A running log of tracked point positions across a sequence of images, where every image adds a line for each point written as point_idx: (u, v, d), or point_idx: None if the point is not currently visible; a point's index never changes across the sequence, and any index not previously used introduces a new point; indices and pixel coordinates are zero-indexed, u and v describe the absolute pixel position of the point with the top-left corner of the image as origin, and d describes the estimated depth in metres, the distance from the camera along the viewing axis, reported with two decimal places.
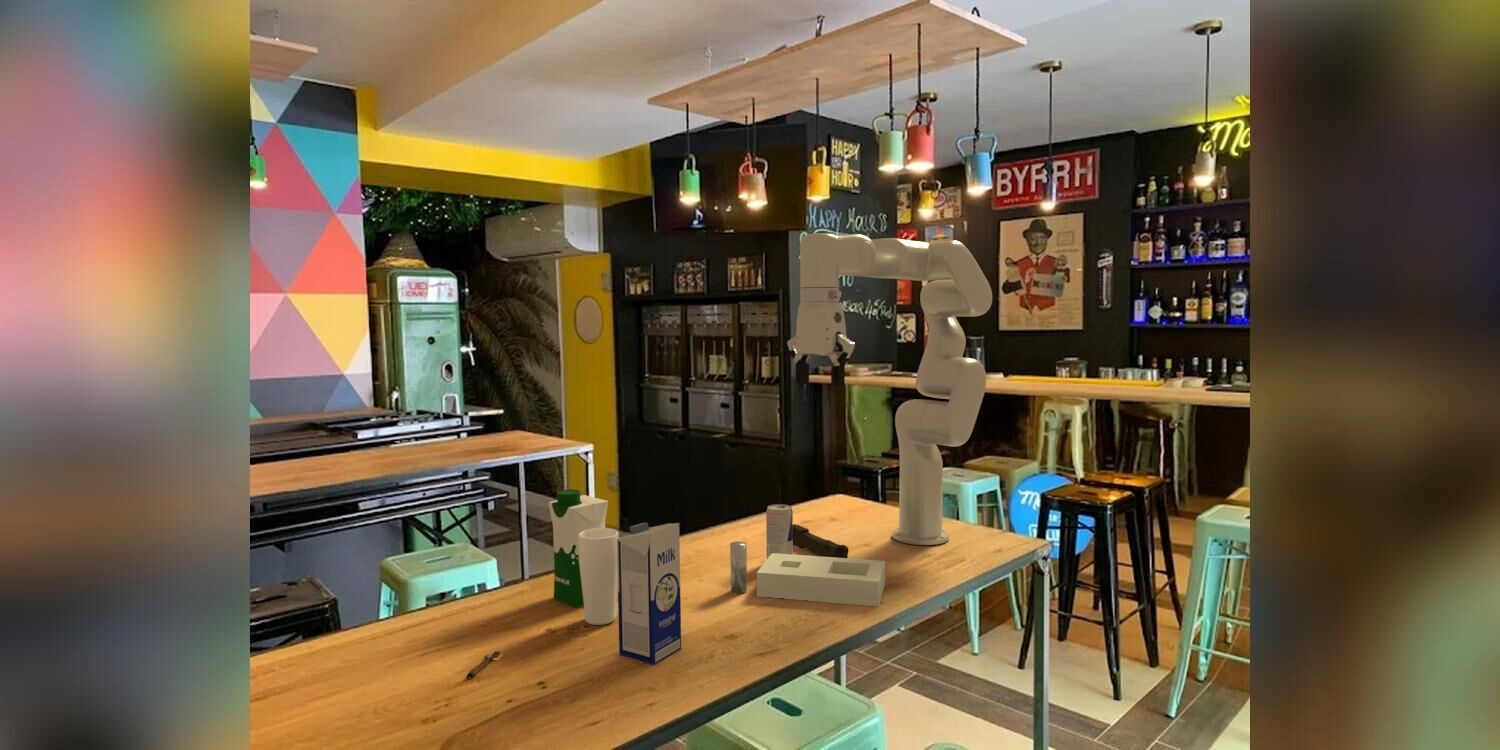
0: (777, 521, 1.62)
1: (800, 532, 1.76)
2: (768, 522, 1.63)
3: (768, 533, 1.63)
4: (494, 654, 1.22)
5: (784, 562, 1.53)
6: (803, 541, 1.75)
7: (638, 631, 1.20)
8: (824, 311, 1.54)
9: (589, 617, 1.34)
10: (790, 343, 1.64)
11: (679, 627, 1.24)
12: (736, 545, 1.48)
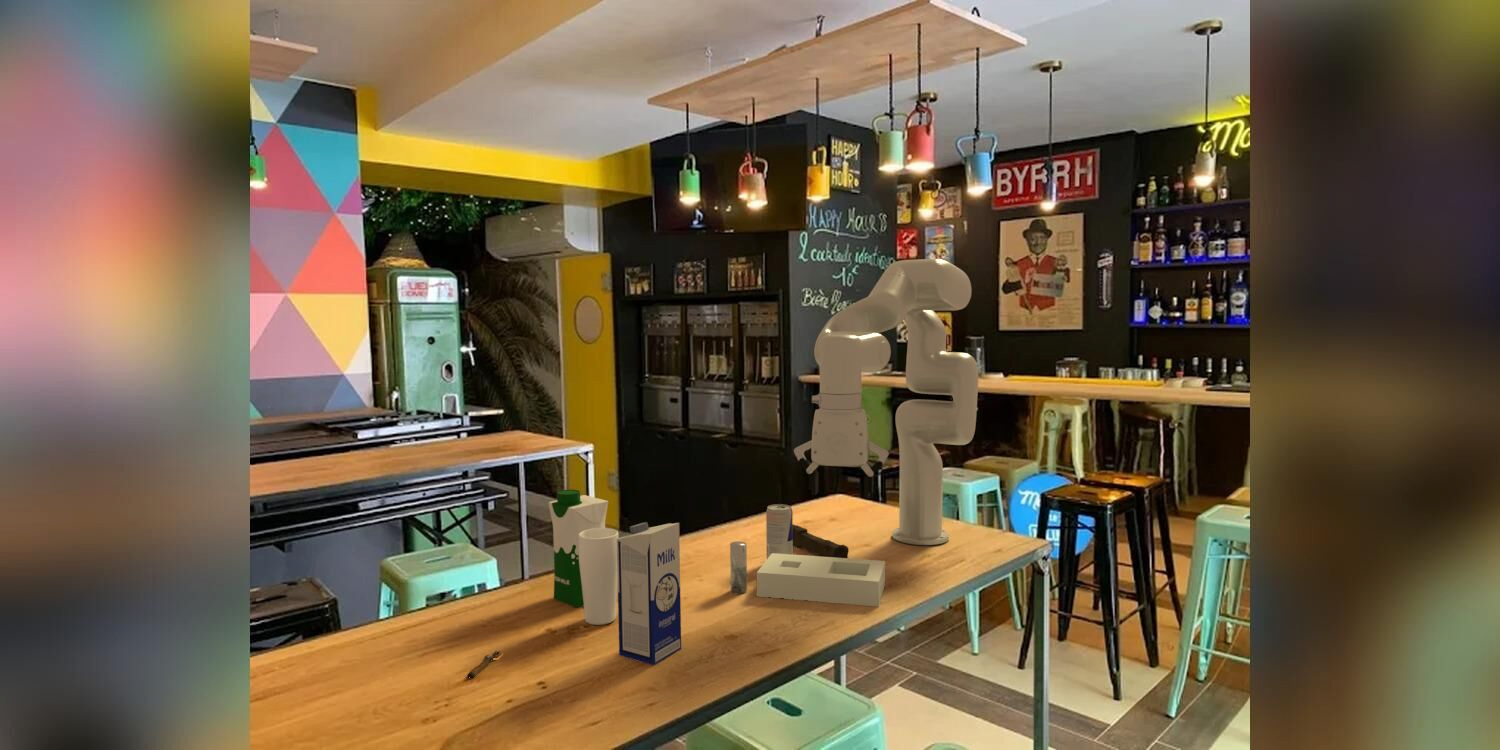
0: (777, 521, 1.62)
1: (799, 532, 1.76)
2: (768, 522, 1.63)
3: (768, 533, 1.63)
4: (494, 654, 1.22)
5: (784, 562, 1.53)
6: (802, 541, 1.74)
7: (638, 631, 1.20)
8: None
9: (589, 617, 1.34)
10: None
11: (679, 627, 1.24)
12: (736, 545, 1.48)
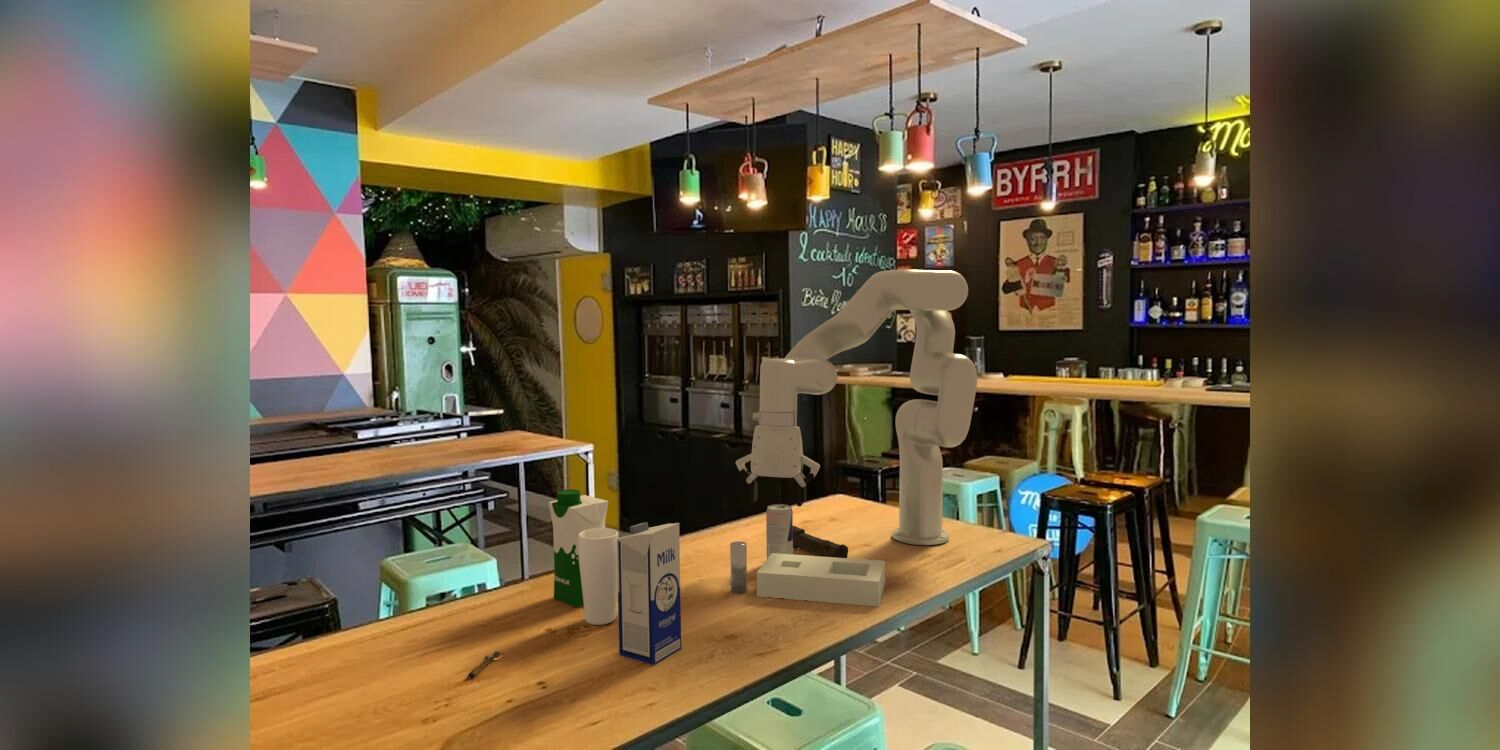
0: (777, 521, 1.62)
1: (796, 532, 1.75)
2: (768, 522, 1.63)
3: (768, 533, 1.63)
4: (495, 654, 1.22)
5: (784, 562, 1.53)
6: (800, 541, 1.74)
7: (638, 631, 1.20)
8: None
9: (589, 617, 1.34)
10: None
11: (679, 627, 1.24)
12: (736, 545, 1.48)
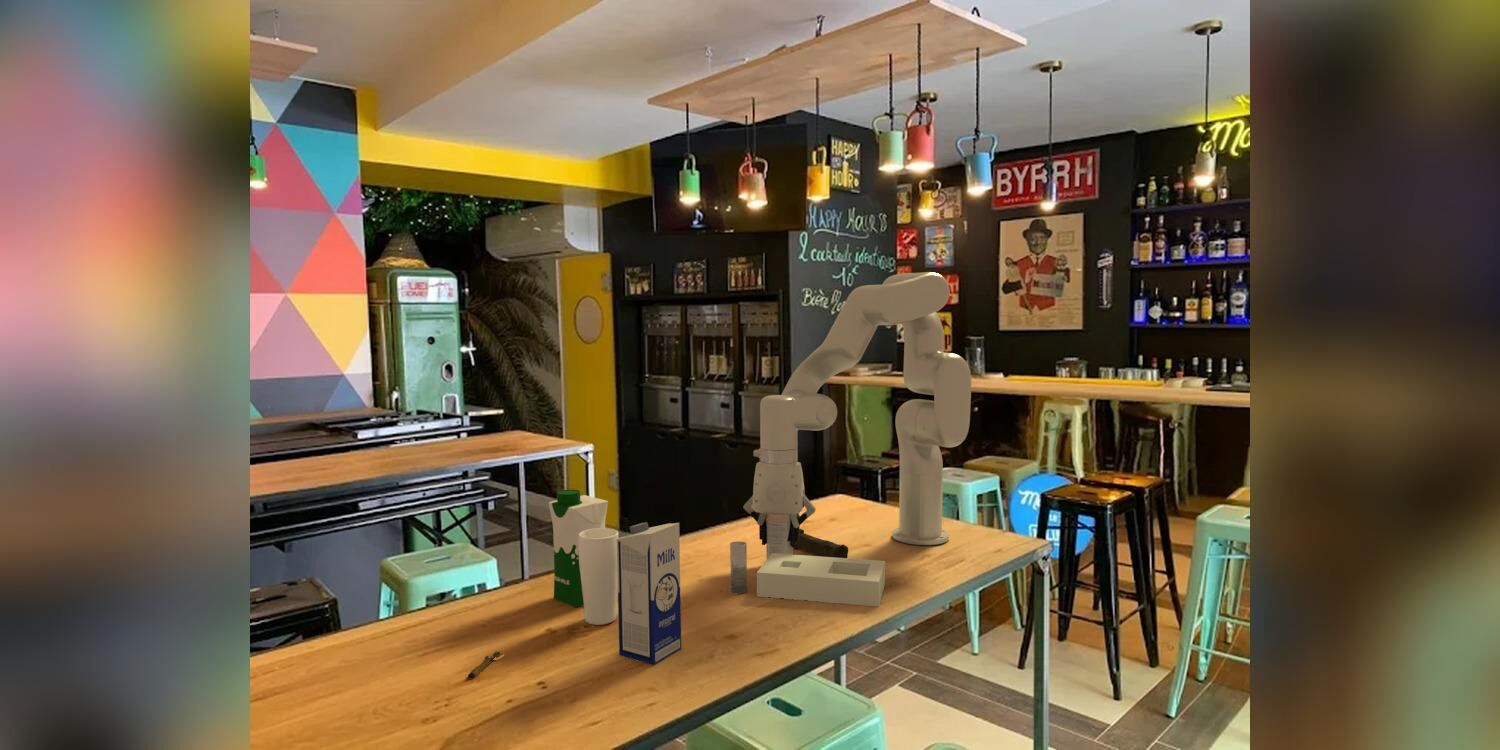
0: (777, 521, 1.62)
1: None
2: (768, 522, 1.63)
3: (768, 533, 1.63)
4: (495, 654, 1.22)
5: (784, 562, 1.53)
6: (800, 542, 1.74)
7: (638, 631, 1.20)
8: None
9: (589, 617, 1.34)
10: None
11: (679, 627, 1.24)
12: (736, 545, 1.48)
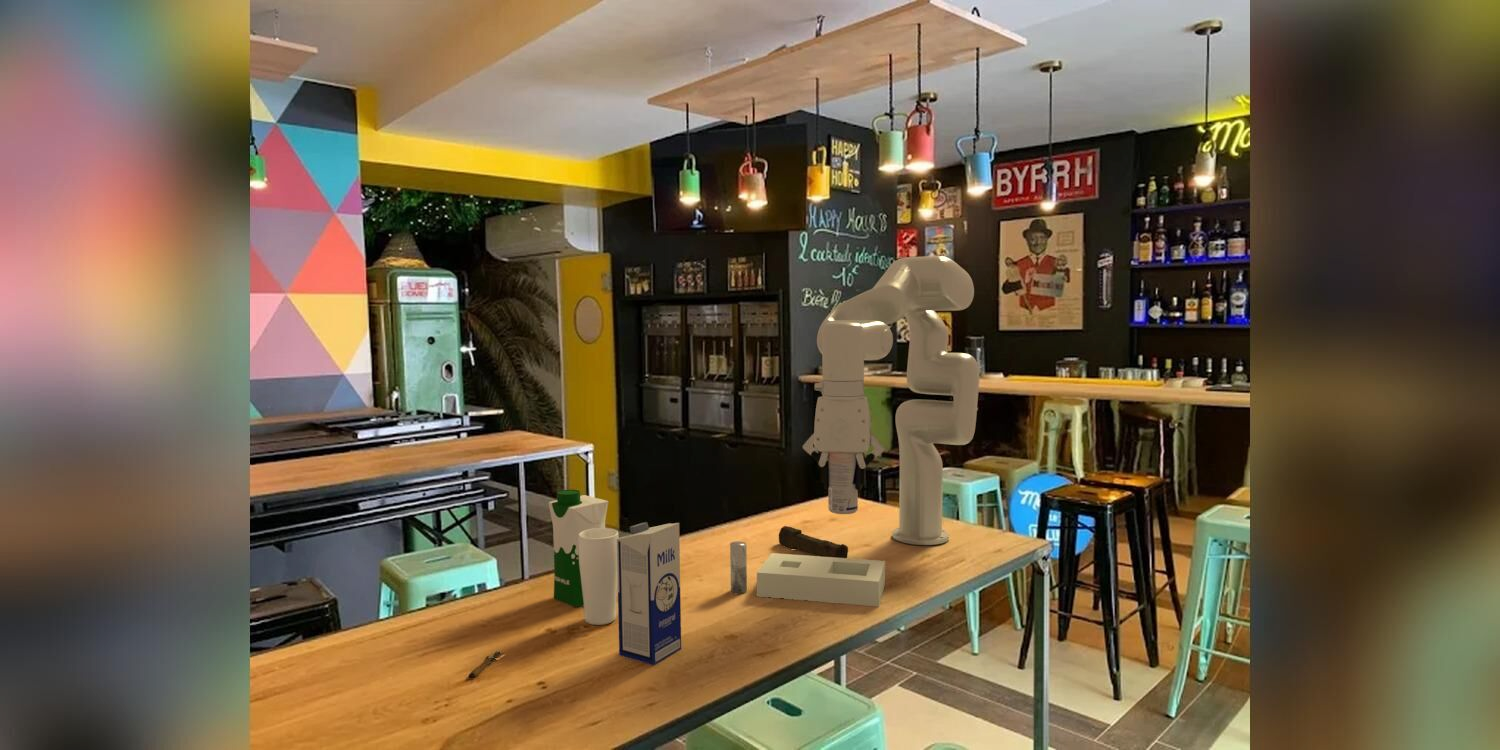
0: (841, 461, 1.45)
1: (794, 533, 1.75)
2: (831, 463, 1.46)
3: (830, 475, 1.47)
4: (495, 654, 1.22)
5: (784, 562, 1.53)
6: (798, 542, 1.73)
7: (638, 631, 1.20)
8: None
9: (589, 617, 1.34)
10: None
11: (679, 627, 1.24)
12: (736, 545, 1.48)
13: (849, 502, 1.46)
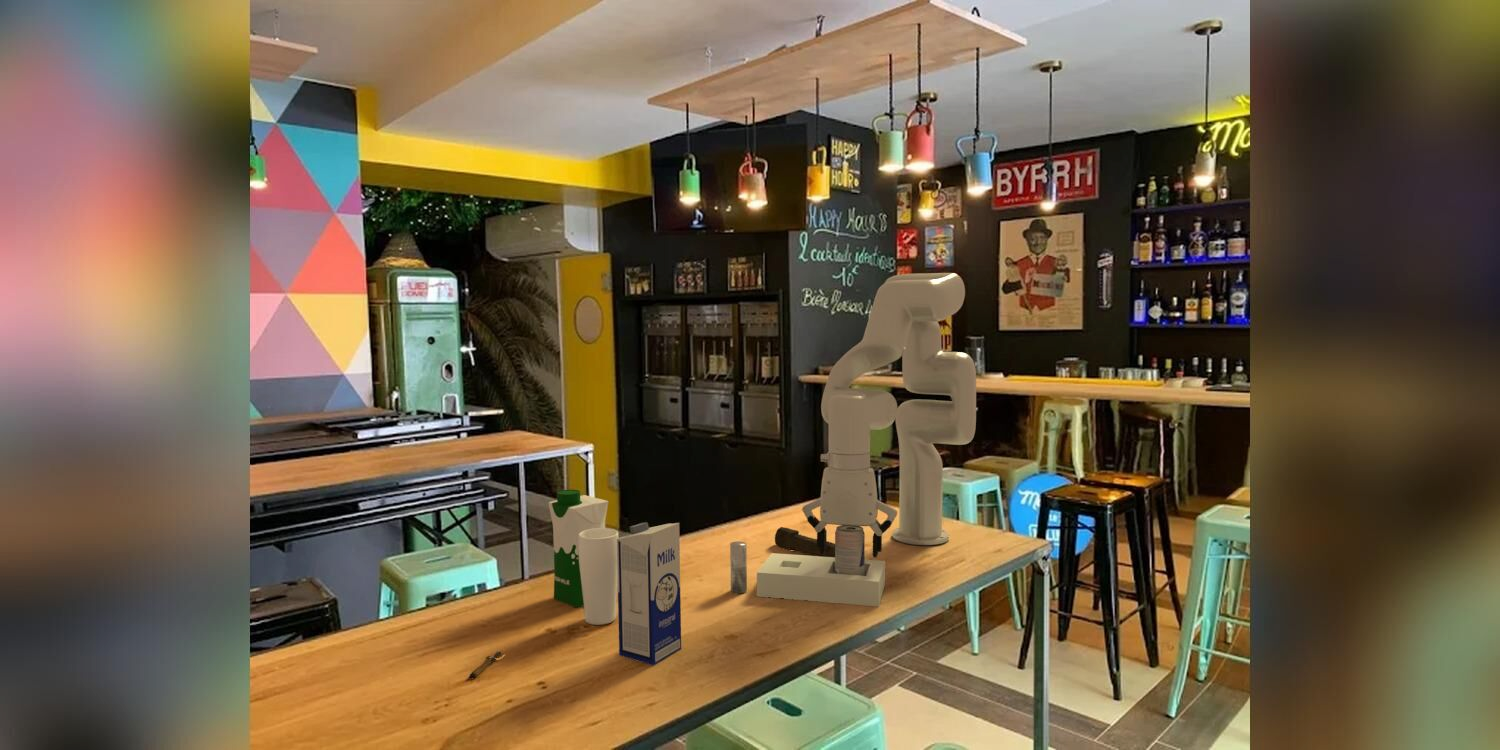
0: (848, 544, 1.45)
1: (791, 534, 1.74)
2: (838, 545, 1.46)
3: (837, 557, 1.47)
4: (496, 654, 1.22)
5: (784, 562, 1.53)
6: (796, 543, 1.73)
7: (638, 631, 1.20)
8: None
9: (589, 617, 1.34)
10: None
11: (679, 627, 1.24)
12: (736, 545, 1.48)
13: None
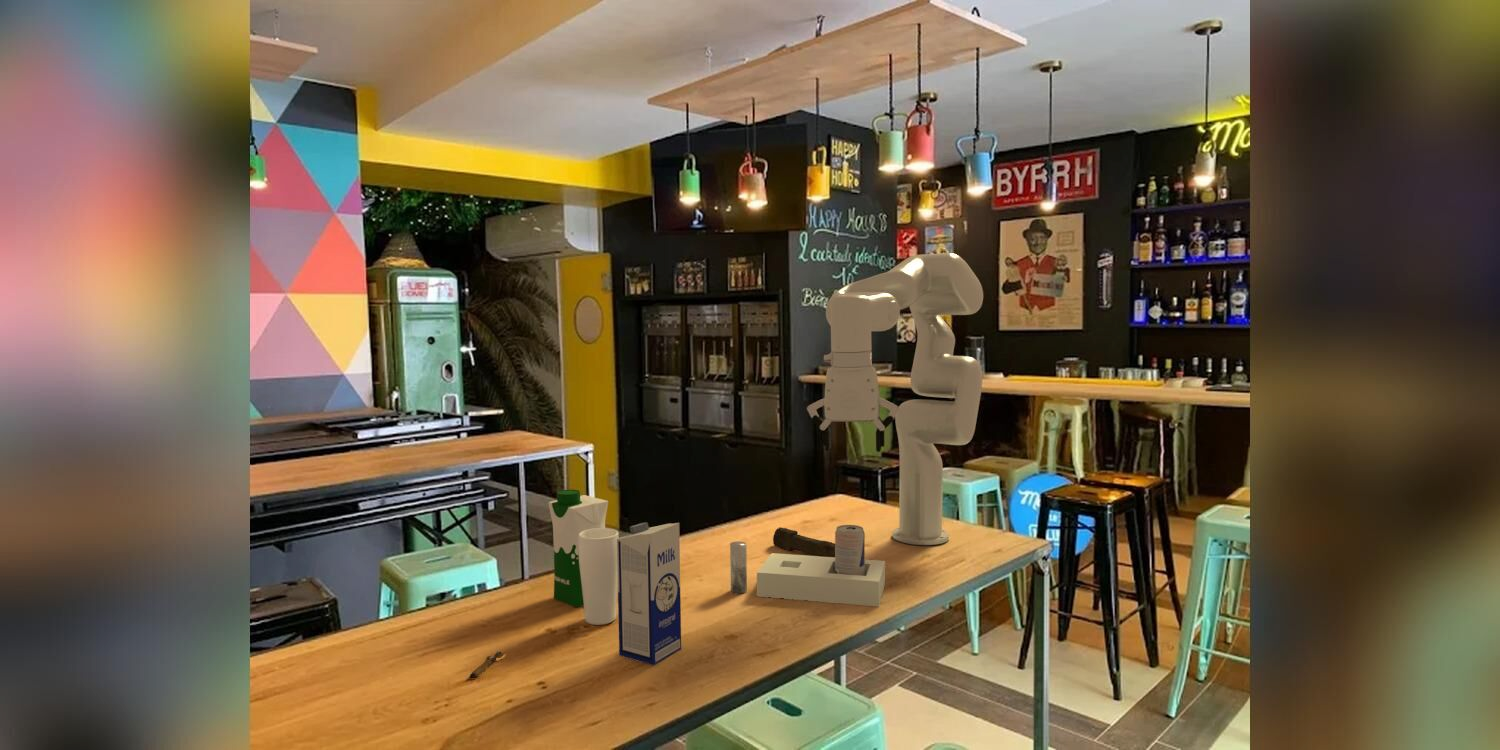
0: (848, 544, 1.45)
1: (790, 534, 1.74)
2: (838, 545, 1.46)
3: (837, 557, 1.47)
4: (496, 655, 1.22)
5: (784, 562, 1.53)
6: (795, 543, 1.72)
7: (638, 631, 1.20)
8: None
9: (589, 617, 1.34)
10: None
11: (679, 627, 1.24)
12: (736, 545, 1.48)
13: None
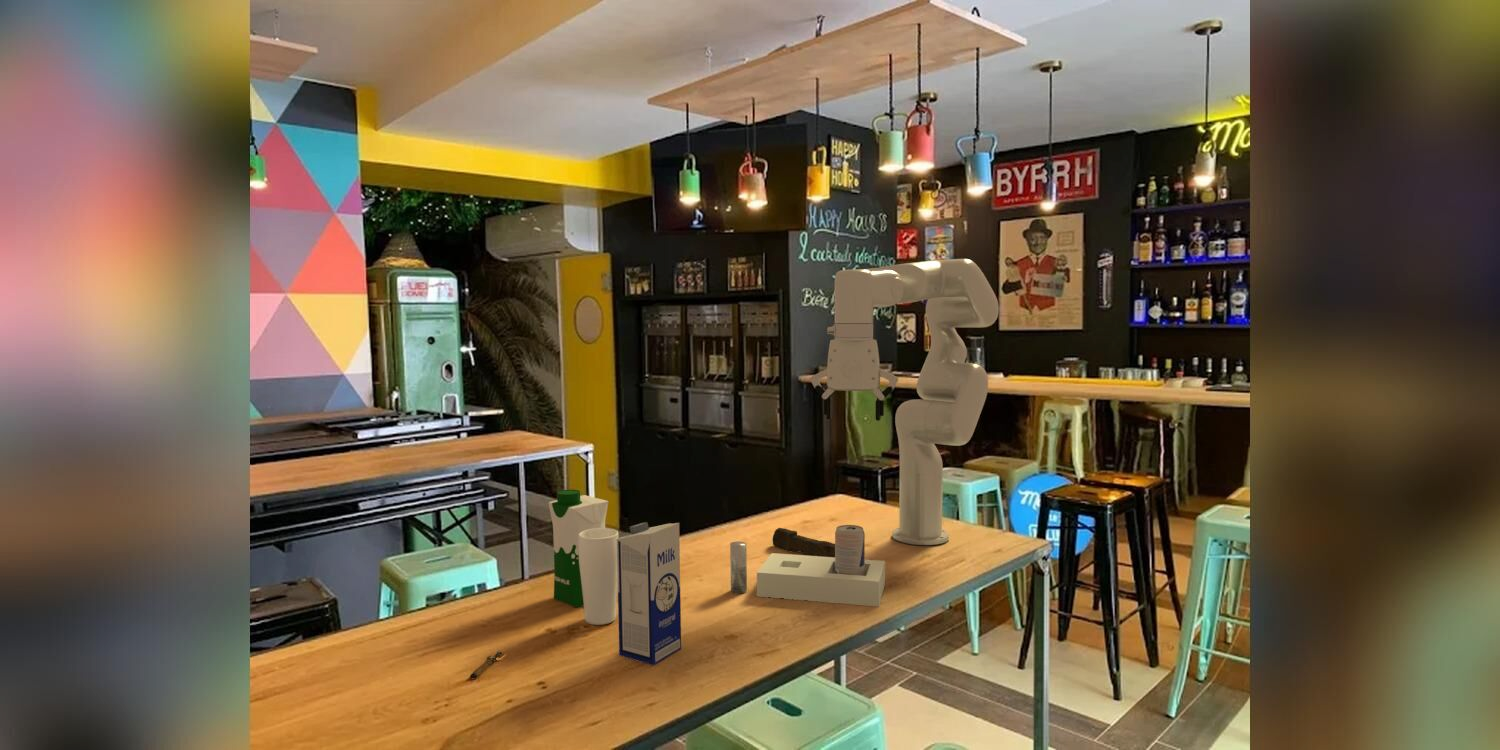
0: (848, 544, 1.45)
1: (790, 535, 1.73)
2: (838, 545, 1.46)
3: (837, 557, 1.47)
4: (497, 655, 1.22)
5: (784, 562, 1.53)
6: (795, 544, 1.72)
7: (638, 631, 1.20)
8: None
9: (589, 617, 1.34)
10: None
11: (679, 627, 1.24)
12: (736, 545, 1.48)
13: None
